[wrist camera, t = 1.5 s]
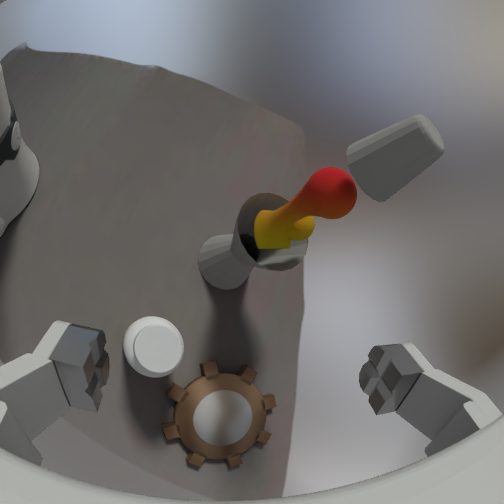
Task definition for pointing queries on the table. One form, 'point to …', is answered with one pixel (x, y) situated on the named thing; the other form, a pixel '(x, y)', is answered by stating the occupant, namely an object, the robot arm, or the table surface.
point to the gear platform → (219, 415)
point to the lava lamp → (318, 203)
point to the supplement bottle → (153, 346)
